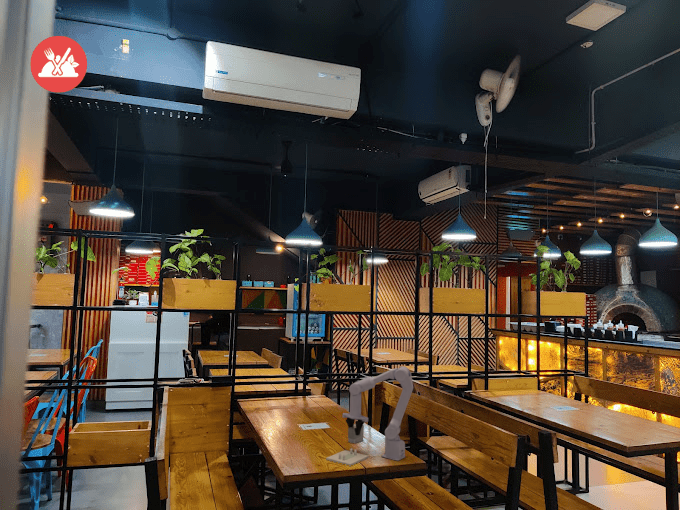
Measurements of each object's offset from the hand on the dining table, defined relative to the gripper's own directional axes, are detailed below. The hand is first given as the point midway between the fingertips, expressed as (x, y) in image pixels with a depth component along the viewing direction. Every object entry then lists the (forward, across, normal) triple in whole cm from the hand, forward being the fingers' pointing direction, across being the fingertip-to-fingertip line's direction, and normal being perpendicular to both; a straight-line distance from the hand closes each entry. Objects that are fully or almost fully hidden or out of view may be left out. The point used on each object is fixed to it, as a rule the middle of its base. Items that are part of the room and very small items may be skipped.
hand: (354, 434), depth 253 cm
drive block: (+1, 0, 0) cm, 1 cm away
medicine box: (+9, -10, +16) cm, 21 cm away
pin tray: (+9, +3, -11) cm, 14 cm away
